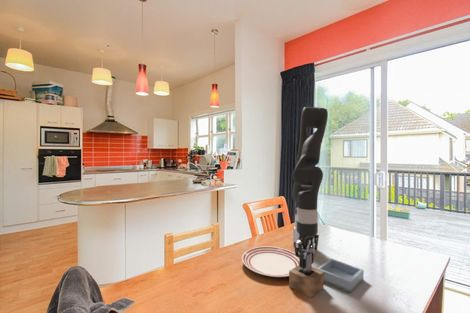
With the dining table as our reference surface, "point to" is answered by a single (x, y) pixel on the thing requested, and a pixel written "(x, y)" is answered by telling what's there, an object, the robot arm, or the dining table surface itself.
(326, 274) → the tray
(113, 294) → the dining table surface
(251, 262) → the dinner plate
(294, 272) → the block
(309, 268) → the pin
